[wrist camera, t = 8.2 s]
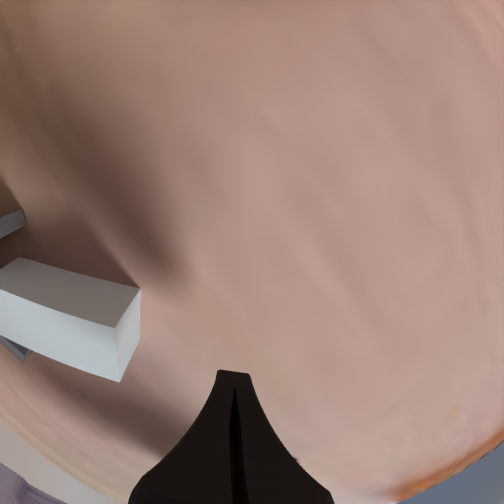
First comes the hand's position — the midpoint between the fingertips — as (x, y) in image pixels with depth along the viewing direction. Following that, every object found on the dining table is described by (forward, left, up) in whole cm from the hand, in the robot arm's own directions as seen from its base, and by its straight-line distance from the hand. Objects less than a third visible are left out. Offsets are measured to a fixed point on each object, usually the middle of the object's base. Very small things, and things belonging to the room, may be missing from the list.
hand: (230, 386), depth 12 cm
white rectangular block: (+10, 0, -4) cm, 11 cm away
